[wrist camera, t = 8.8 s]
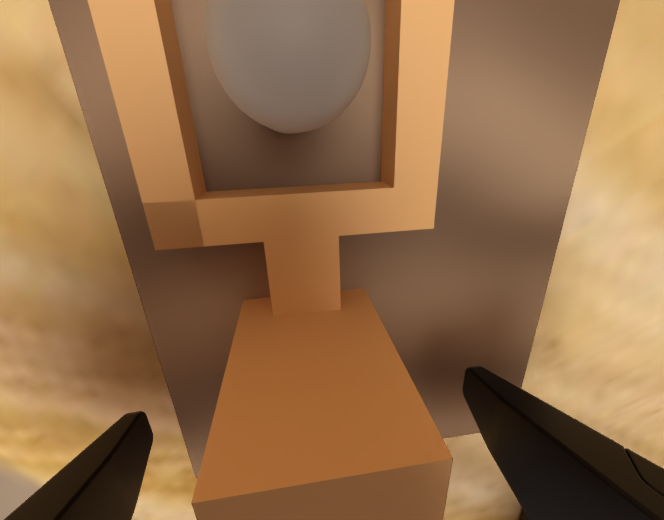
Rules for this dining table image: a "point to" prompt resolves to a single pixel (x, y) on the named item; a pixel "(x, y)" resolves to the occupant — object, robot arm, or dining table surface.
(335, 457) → the square frame with handle
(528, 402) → the robot arm
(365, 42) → the board
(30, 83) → the dining table surface
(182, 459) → the dining table surface
